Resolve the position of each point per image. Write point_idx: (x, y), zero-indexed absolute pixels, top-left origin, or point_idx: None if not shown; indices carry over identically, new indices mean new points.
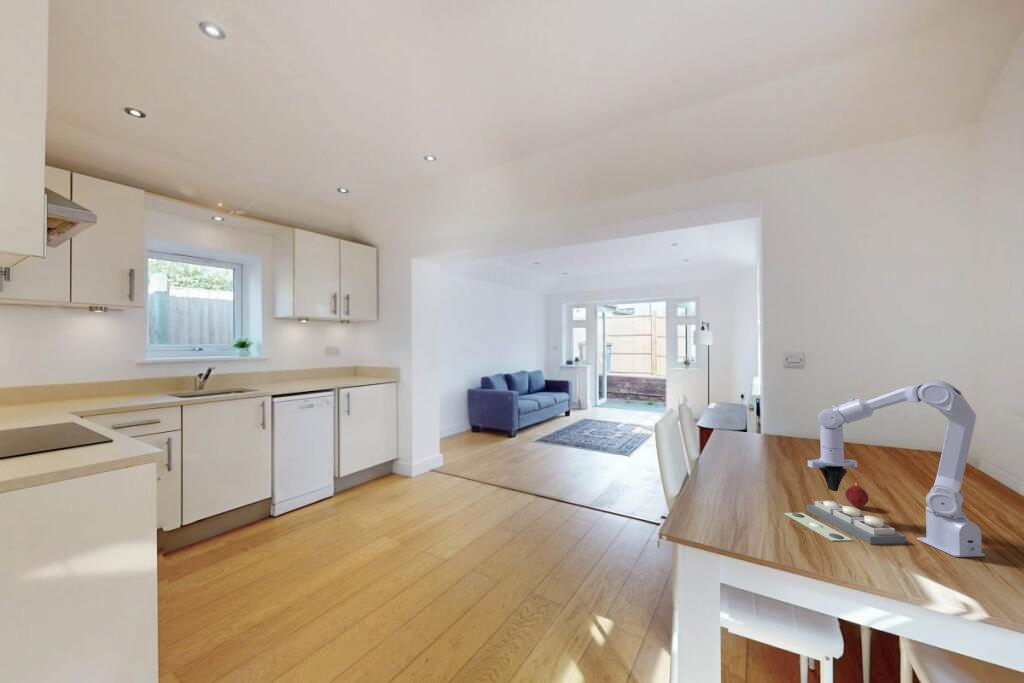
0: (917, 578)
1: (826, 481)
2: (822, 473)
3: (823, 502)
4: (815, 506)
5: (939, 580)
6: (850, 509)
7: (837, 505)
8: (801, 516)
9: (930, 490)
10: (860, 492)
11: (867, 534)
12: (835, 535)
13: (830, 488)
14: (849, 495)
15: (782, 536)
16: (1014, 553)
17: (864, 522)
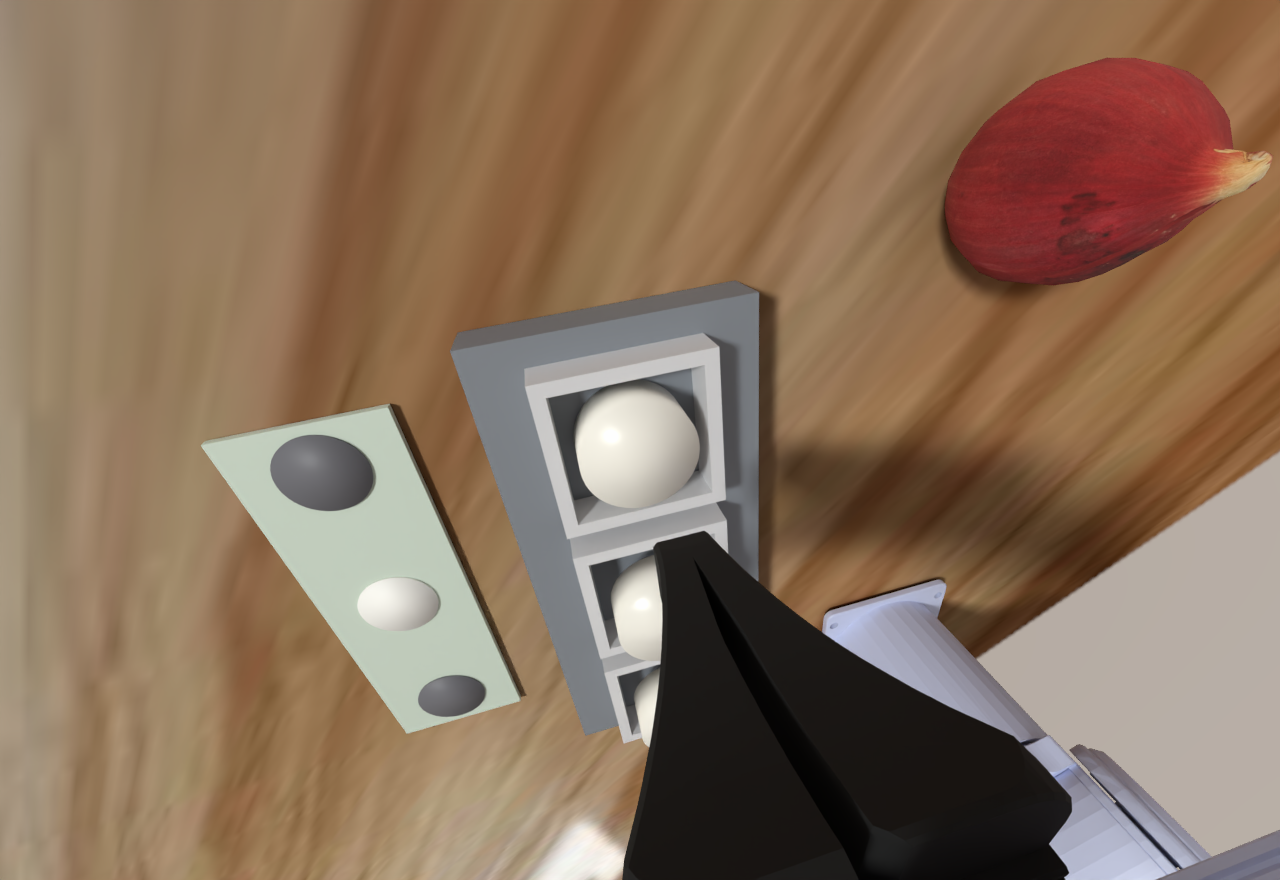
0: (565, 836)
1: (665, 616)
2: (652, 738)
3: (584, 432)
4: (522, 383)
5: (622, 824)
6: (650, 642)
7: (654, 503)
8: (344, 495)
9: (1160, 841)
10: (1091, 267)
11: (590, 718)
12: (452, 692)
13: (660, 585)
14: (992, 209)
15: (127, 761)
16: (1035, 617)
17: (639, 690)
